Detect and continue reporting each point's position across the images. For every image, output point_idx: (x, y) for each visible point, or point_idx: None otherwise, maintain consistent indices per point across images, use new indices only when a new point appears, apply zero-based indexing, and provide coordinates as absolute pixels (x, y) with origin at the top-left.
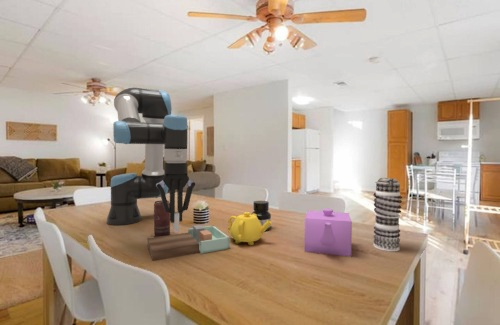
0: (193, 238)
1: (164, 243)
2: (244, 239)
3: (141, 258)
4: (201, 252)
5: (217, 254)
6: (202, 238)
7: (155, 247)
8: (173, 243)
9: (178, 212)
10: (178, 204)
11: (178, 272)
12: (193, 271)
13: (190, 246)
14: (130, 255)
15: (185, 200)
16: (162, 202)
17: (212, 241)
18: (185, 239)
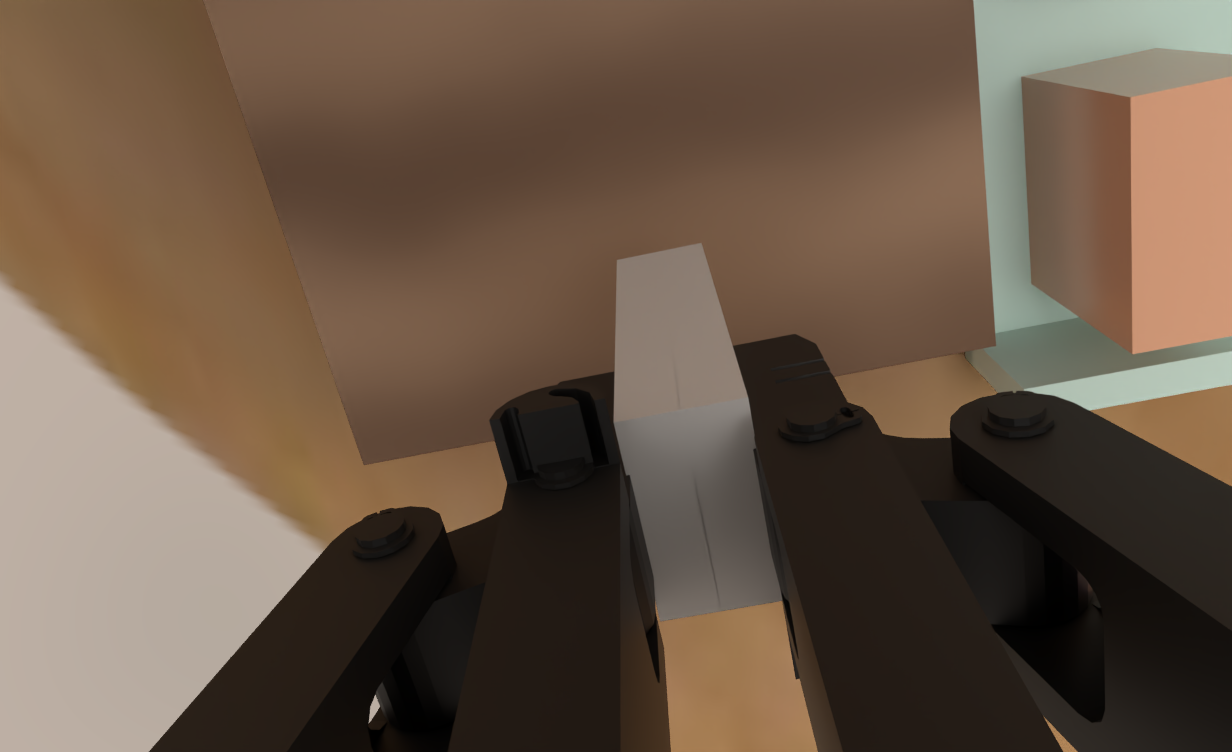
0: (963, 70)
1: (485, 202)
2: None
3: (243, 314)
4: (975, 363)
5: (1149, 426)
6: (1092, 259)
7: (375, 342)
8: (623, 241)
9: (768, 530)
10: (812, 704)
11: (669, 722)
12: (802, 735)
13: (857, 364)
14: (68, 176)
15: (1164, 745)
16: (177, 728)
17: (1200, 380)
18: (823, 88)
